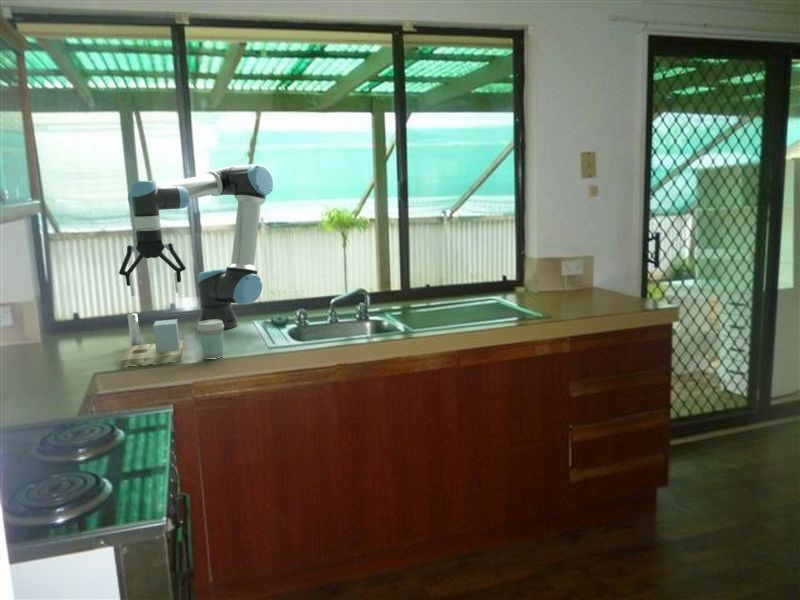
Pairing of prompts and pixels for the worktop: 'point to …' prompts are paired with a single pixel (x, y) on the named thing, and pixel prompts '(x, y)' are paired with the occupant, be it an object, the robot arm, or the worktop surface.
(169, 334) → the block
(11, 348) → the worktop surface
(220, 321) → the coffee cup
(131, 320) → the peg
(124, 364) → the board
